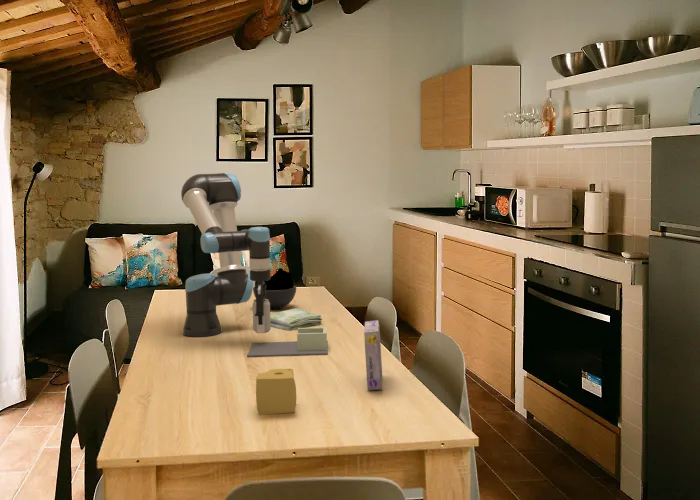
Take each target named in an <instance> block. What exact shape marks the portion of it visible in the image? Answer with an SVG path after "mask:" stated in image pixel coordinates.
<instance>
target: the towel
mask: <svg viewBox="0 0 700 500" xmlns="http://www.w3.org/2000/svg"><path fill="white" fill-rule="evenodd" d="M322 321H323V318H322V315H320V314H318V313H313V312H310V311H308V310H304V309H302V308H297V307H296V308H291V309H286V310H282V311H278V312H273V313H270V327H272V328H277V329H279V330H284V331H294V330H298V328H309V327H312V326H319V325H321V324H322Z"/></svg>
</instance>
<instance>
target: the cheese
mask: <svg viewBox="0 0 700 500" xmlns="http://www.w3.org/2000/svg"><path fill="white" fill-rule="evenodd" d="M294 377H295V375H294V369H293V368H272V369H269V370H267V371H266V372H259V373H257V375H256V378H255V381H256V382H255V398H256V400H255V402H256V409H257V415H259V416H261V415H275V414H276V415H277V414H278V415H279V414H290V413H291V414H293V413H295V412H296V408H297V407H296V406H297V385H296V381H295V378H294Z"/></svg>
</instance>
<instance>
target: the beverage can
mask: <svg viewBox="0 0 700 500" xmlns="http://www.w3.org/2000/svg"><path fill="white" fill-rule="evenodd" d="M264 300H265V301H264V326H265V333H264V334H266V333H269V332H270V331H271V326H270V314H271V309H270V303H269V300H268V299H264ZM252 301H253V302H252V326H253V327H252V329H253V332H255V333H256V334H258V333H257V316H255V314H256V298H255V299H253V300H252Z"/></svg>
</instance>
